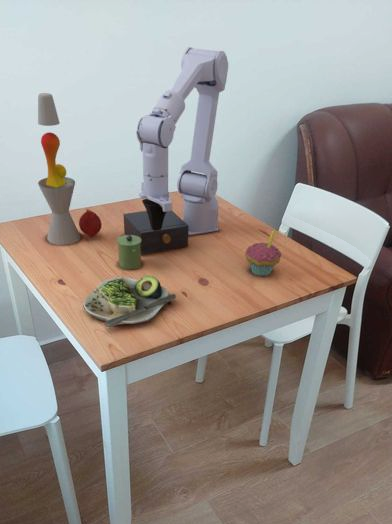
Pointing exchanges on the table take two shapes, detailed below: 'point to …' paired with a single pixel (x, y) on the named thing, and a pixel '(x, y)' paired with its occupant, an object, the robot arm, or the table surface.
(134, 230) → the cabinet
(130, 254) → the pot
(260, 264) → the cupcake
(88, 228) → the onion
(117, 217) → the table surface
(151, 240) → the drawer
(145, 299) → the avocado toast plate
